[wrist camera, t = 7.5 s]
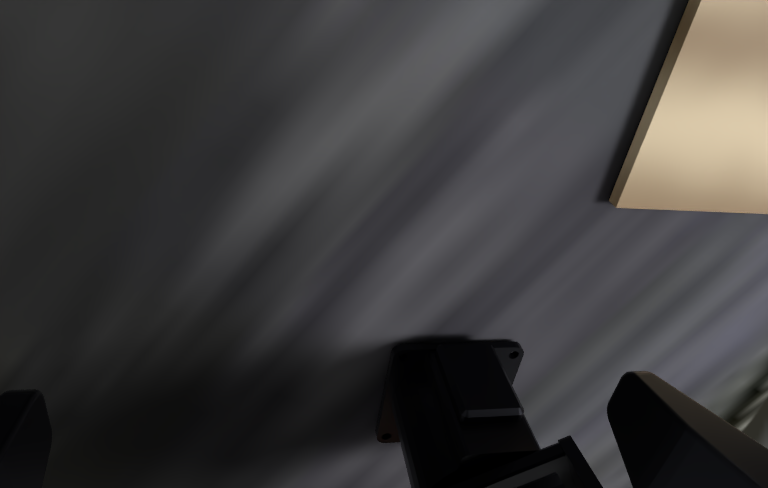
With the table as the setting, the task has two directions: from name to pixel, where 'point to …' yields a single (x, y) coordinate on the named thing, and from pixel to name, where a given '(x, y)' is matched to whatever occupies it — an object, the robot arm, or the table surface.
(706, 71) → the mat
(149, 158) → the table surface
